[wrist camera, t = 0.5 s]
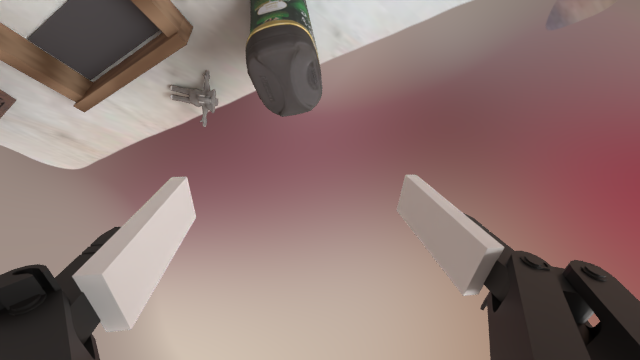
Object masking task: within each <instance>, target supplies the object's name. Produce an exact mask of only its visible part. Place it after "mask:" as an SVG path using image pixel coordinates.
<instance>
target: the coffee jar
mask: <svg viewBox="0 0 640 360" xmlns="http://www.w3.org/2000/svg"><path fill="white" fill-rule="evenodd" d="M246 64H247V69H248V74H249V76H250V78H251V80H252V83H253V85H254V87H255V89H256V91H257V93H258V95H259V97H260V99H261V100H262V102H263V103H264V105H265V106H266V107H267V108H268V109H269V110H271V111H272V112H273V113H275V114H277V115H280V116H282V117H283V116H290V115H296V114H300V113H304V112H308V111H311V110H312V109H313V108H314V107H315V106H316V105H317V103H318V102H319V100H320V98H321V95H322V81H321V70H320V64H319V59H318V53H317V48H316V43H315V38H314V34H313V30H312V26H311V22H310V18H309V14H308V10H307V5H306V1H305V0H251V26H250V35H249V37H248V40H247V43H246Z"/></svg>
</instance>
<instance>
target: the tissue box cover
mask: <svg viewBox="0 0 640 360" xmlns="http://www.w3.org/2000/svg"><path fill="white" fill-rule="evenodd" d="M15 101H16V99H14V98H13V97H11V96H10V95H8V94H6V93H5V92H3V91H2V90H0V118H1V117H2V116H3V115H4V114H5V112H6V111H7V110H8V109H9V108H10V107H11V106H12V105H13V103H14V102H15Z"/></svg>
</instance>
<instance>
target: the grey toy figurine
mask: <svg viewBox="0 0 640 360" xmlns="http://www.w3.org/2000/svg"><path fill="white" fill-rule="evenodd" d="M203 76H204V78H205V83H204V90H203V91H201V90H199V89H193V90H191V89H187V88H181V87H178V86H174V85H171V86H170V88H171V89H170V90H172V91H176V92H180V93H185V94H188V95H189V97H183V96H178V95H174V94H172V95H171V96H170V98H171V99H172V100H176V101H183V102H186V103H192V104H194V105H195V106H197V107H200V106H202V109H203V118H202V120H201V121H200V122H203V126H204V127H205V126H206V123H207V119H206V115H207V112H208V110H210V111H211V112H212V113H214V110H215V106H217V105H218V99H217V98H216V97H215V96H216V91H215V89H213V90H212V91H210V86H209V79H210V75H209V71H208V70H206V75H204V74H203Z"/></svg>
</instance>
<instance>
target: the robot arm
mask: <svg viewBox="0 0 640 360" xmlns="http://www.w3.org/2000/svg"><path fill="white" fill-rule="evenodd" d="M397 212H399V214H400V215H401V217H402V218H403V219H404V221H405V222H406V223H407V224H408V226H409V227H410V228H411V230H412V231H413V232H414V233H415V235H416V236H417V237H418V239H419V240H420V241H421V242H422V244H423V245H424V246H425V247H426V249H427V250H428V251H429V253H430V254H431V255H432V257H433V258H434V259H435V260H436V262H437V263H438V264H439V265H440V267H441V268H442V269H443V271H444V272H445V273H446V274H447V276H448V277H449V278H450V279H451V281H452V282H453V283H454V285H455V286H456V287H457V288H458V290H459V291H460V292H461V294H462V295H463V296H466V295H476V294H479V292H480V290H481V289H482V287H483V285H485V286H486V287H487V288H488V289H489V290H490V292H489V293H488V295H487V297H486V298H485V300H484V302H483V304H482V305H481V309H482V310H484V308H485V307H486V306H488V322H489V339H490V356H491V360H640V301H639V300H638V299H636V298H635V297H634V296H633V295H632V294H631V293H630V292H629V291H628V290H627V289H626V288H625V287H624V286H623V285H622V284H621V283H620V282H619V281H618V280H617V279H616V278H614V277H613V276H612V275H610V274H609V273H608V272H606V271H604V270H603V269H601V268H600V267H598V266H595V265H593V264H591V263H587V262H583V261H578V260H574V261H571V262H570V263H569V264H568V266H567V267H566V268H565V269H563V268H557V267H552V266H550V265H549V264H548V263H547V262H546V261H544V260H543V259H541V258H539V257H537V256H536V255H533V254H531V253H528V252H524V251H514V250H513V249H511V248H510V247H509V246H508V245H506V244H505V243H504V242H503V241H501V240H500V239H499V238H498V237H496V236H495V235H494V234H493V233H491V232H489V230H488V229H486V228H485V227H484V226H482V225H481V224H480V223H479V222H478V221H476V220H475V219H474V218H472V217H470V216H468V215H466V214H464V213H462V212H461V211H460V210H459V209H457V208H456V207H455V206H454V205H452V204H451V203H450V202H449V201H447V200H446V199H445V198H444V197H443V196H442V195H440V194H439V193H438V192H437V191H435V190H434V189H433V188H432V187H431V186H429V185H428V184H427V183H426V182H424V181H423V180H422V179H421V178H420V177H418V176H417V175H405V179H404V183H403V187H402V191H401V195H400V199H399V203H398V207H397ZM195 218H196V215H195V210H194V206H193V201H192V197H191V193H190V188H189V184H188V180H187V177H171V178H170V179H169V180H168V181H167V182H166V183H165V184H164V185H163V186H162V187H161V188H160V189H159V190H158V191H157V192H156V193H155V194H154V195H153V196H152V197H151V198H150V199H149V200H148V202H146V203H145V204H144V205H143V206H142V207H141V208H140V209H139V210H138V211H137V212H136V213H135V214H134V215H133V216H132V217H131V218H130V219H129V220H128V221H127V222H126V223H125V224H124V225H123V226H122V227H114V228H113V229H111V230H109V231H107V232H106V233H104V234H102V235H101V236H100V237H99V238H97V239H96V240H95V241H94V242H93V243H92V244H91V246H90V247H88V248H87V249H86V250H85V251H83V252H82V255H79V256H78V257H77V258H76V259H75V260H74V261H73V262H72V263H70V264H69V265H68V266H67V267H66V268H65V269H64V270H63V271H62V272H61V273H60V274H59V275H58V276H56V277H55V278H54V277H53V275H52V274H51V272H50V271H49V269H48V268H47V267H46V266H44V265H38V264H37V265H29V266H25V267H21V268H17V269H14V270H11V271H9V272H7V273H4V274H2V275H0V360H100V358H99V354H98V349H97V345H96V341H95V338H94V337H93V335H92V332H93V331H94V329H95V328H96V327H97V325H98V324H99V322H100V323H101V324H102V326H103V327H104V329H105V331H106V332H113V331H121V330H131V329H132V327H133V325H134V324H135V322H136V320H137V319H138V317H139V315H140V313H141V311H142V310H143V308H144V306H145V305H146V303H147V301H148V300H149V298H150V296H151V294H152V293H153V291H154V289H155V287H156V286H157V284H158V282H159V280H160V279H161V277H162V275H163V274H164V272H165V270H166V268H167V267H168V265H169V263H170V262H171V260H172V258H173V256H174V255H175V253H176V251H177V249H178V248H179V246H180V244H181V243H182V241H183V239H184V237H185V236H186V234H187V232H188V230H189V229H190V227H191V225H192V224H193V222H194V220H195ZM593 313H595V314H596V316H597V317H598V318H599V320H600V322H599V323H598V324H597V325H596V326H595V327H592V326H591V325H590V323H589V322H588V319H589V318H590V317H591V316H592V315H593Z"/></svg>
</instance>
